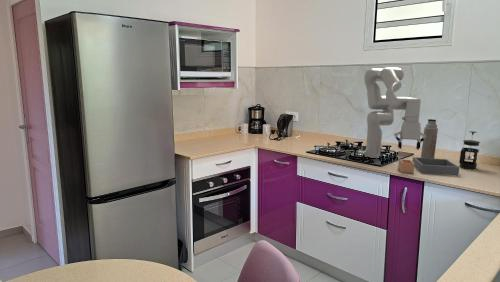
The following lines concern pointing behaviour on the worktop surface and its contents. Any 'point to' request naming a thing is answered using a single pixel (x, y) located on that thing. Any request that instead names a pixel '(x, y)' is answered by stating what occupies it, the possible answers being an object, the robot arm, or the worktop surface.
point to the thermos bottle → (429, 139)
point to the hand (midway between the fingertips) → (408, 148)
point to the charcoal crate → (435, 166)
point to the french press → (462, 161)
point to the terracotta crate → (406, 166)
